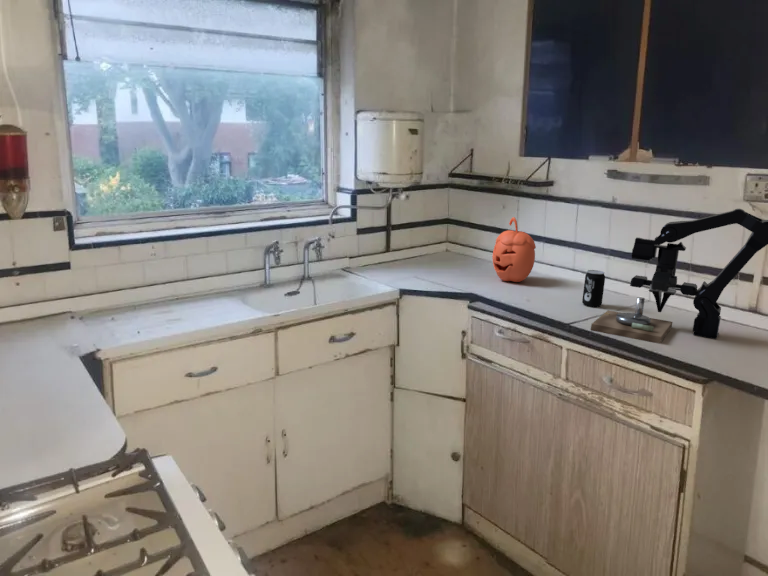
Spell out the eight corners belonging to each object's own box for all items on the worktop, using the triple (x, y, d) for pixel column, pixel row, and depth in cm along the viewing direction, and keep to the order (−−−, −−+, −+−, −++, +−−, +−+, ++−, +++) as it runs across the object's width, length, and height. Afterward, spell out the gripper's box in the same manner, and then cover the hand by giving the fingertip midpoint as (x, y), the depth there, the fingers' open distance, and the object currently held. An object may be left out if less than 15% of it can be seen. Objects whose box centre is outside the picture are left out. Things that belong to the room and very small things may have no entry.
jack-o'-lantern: (480, 277, 271) (485, 215, 265) (511, 274, 281) (517, 214, 275) (512, 287, 257) (518, 222, 251) (544, 283, 266) (551, 220, 260)
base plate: (671, 327, 213) (673, 316, 213) (659, 343, 197) (661, 331, 196) (607, 316, 223) (608, 305, 222) (590, 330, 207) (592, 318, 206)
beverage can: (602, 308, 233) (606, 274, 230) (582, 306, 234) (586, 272, 231) (600, 304, 239) (604, 270, 236) (581, 302, 240) (585, 269, 237)
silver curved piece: (646, 328, 203) (649, 309, 201) (612, 322, 208) (614, 303, 206) (655, 318, 215) (658, 300, 213) (623, 312, 220) (625, 294, 218)
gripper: (629, 262, 207) (623, 311, 210) (695, 271, 197) (687, 323, 201) (637, 257, 216) (631, 304, 220) (701, 266, 207) (693, 315, 210)
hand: (659, 312), depth 213 cm, fingers closed
